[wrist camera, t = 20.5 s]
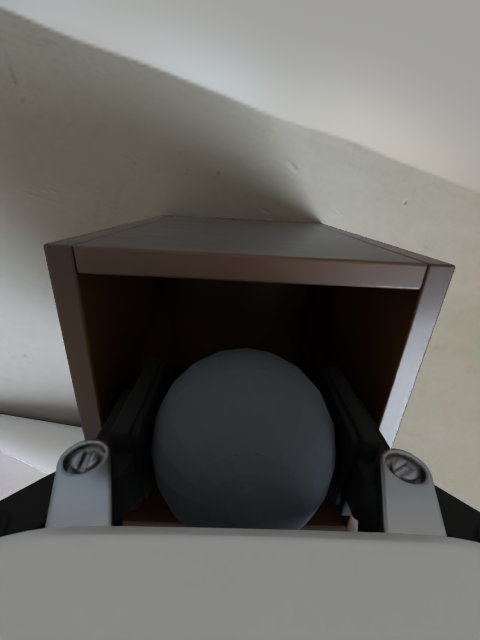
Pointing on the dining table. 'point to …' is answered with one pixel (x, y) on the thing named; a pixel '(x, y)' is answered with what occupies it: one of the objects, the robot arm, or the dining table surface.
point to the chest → (242, 314)
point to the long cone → (37, 441)
